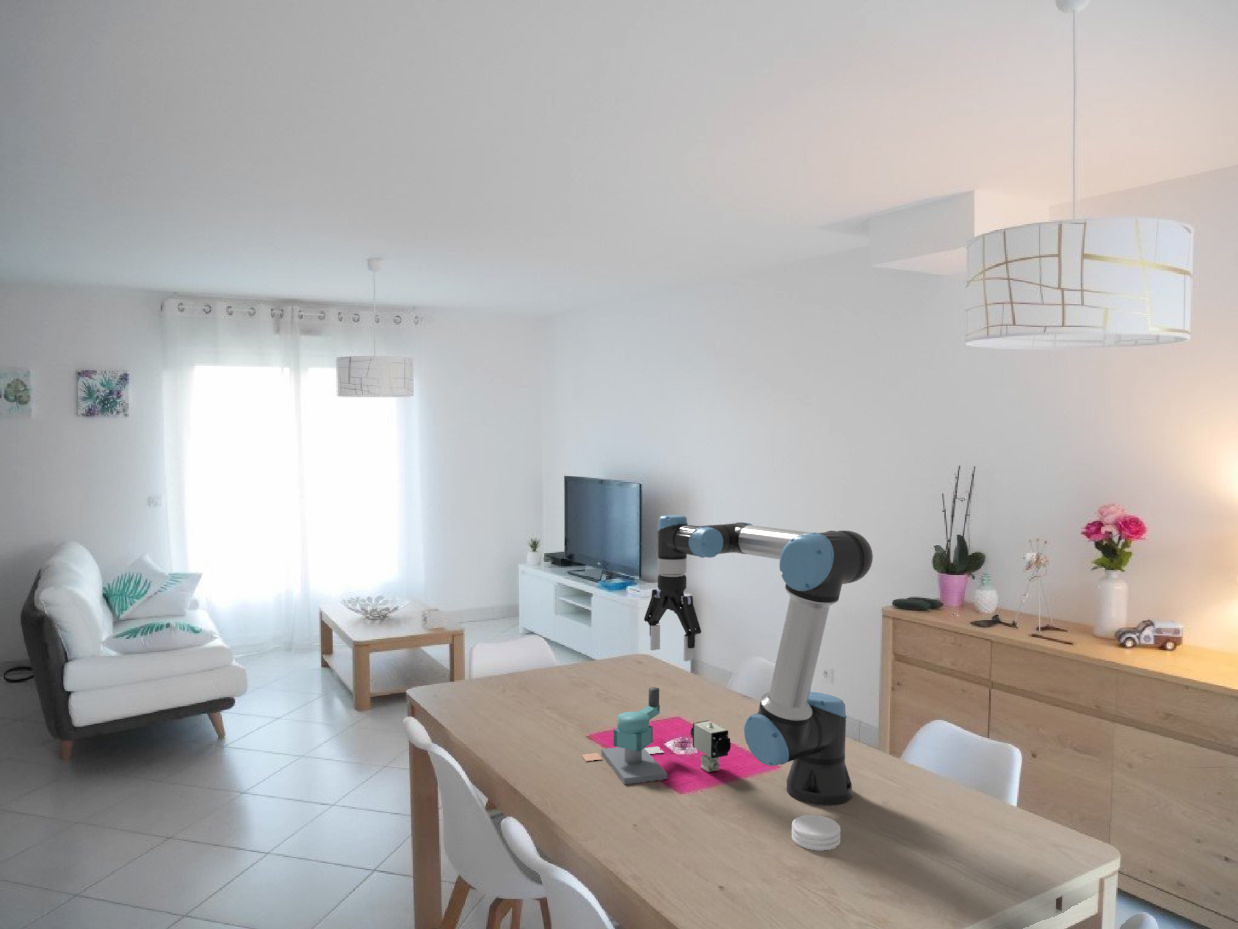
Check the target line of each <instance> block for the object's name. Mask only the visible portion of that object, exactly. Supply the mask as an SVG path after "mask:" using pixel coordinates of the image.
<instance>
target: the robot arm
mask: <svg viewBox="0 0 1238 929" xmlns="http://www.w3.org/2000/svg"><path fill="white" fill-rule="evenodd" d="M656 531H657V573H658V576H657V588H655V589H652V590H651V597H650V601H649V604H648V606H647V610H646V611H645V615H644V618H643V620H644V622H646V623H648V625H649V637H650V638H649V639H650V645H649V646H650V648H649V649H650V650H649V651H656V650H657V651H658V650H661V625H660V624H661V623H660V621H661V619H662V618H663V616H664V614H665V613H666V611H667V610H669V611H673V613H674V614H676V616H677V618H678V619H679V622H680V624H681V626H682V629H683V630H684V632H685V634H683V661H684V662H688V661H689V662H690V661H693V660H694V658H695V657H694V655H695V654H694V653H695V652H694V651H695V650H694V648H696V635H700V634H701V633H702V630H701V626H700V622H699V620H698V616H697V613H696V609H695V606H694V598H693V595H684V593H685V590H686V589H687V575H686V573H687V555H690V556H695V557H699V558H703V559H704V558H715V557H716V556H717V555H720V554H721V555H722V554H734V553H735V554H743V555H750V556H755V557H763V558H768V559H774V560H779V561H778V562H779V565H778V566H779V572H781V573H782V574H781V578H782V580H783V582H784V583H785V585H784V586H785V587H784V589H785V591H786V593H787V594H788V595H789V601H788V606H787V610H786V614H785V615H786V616H785V621H784V624H783V627H782V628H783V629H782V633H781V636H780V637H781V638H780V641H779V642H780V643H779V647H778V651H777V656H776V661H775V665H774V670H773V674H772V679H771V684H770V689H769V692H766V693H764V694H763V695H762V696H761V698H760V703H759V705H758V706H759V707H758V710H757V713H756V712H755V713H753V714H751V715H750V716H748V718H747V719H746V721H745V723H744V725H743V726H744V728H743V733H744V735H743V736H744V738H745V742H746V745H747V746H748V749H749V751H750V753H751V754H752V756H754V758H755V759H756V760H757V761H758V762H760V763H762V765H765V766H770V767H776V766H780V765H781V766H782V765H786V764H787V763H790V762H792V763H791V766H790V769H789V772H788V775H787V778H786V792H787V793H788V794H789V796H791V797H793V798H794V799H796V800H799V801H800V802H804V803H808V804H811V805H819V806H837V805H841V804H845V803H847V802H849V801H850V800H851V799H852V798H853V784H852V780H851V777H850V774H849V771H848V768H847V765H846V735H847V734H846V732H847V731H846V727H847V719H848V718H847V715H846V714H847V713H846V711H847V710H846V704H845V702H844V700H842V699H841V698H839V697H837V696H835V695H831V694H828V693H823V692H816V691H811V690H812V689H811V688H812V684H813V681H814V675H815V673H816V667H817V663H818V659H819V654H820V650H821V647H822V646H821V645H822V641H823V636H824V633H825V628H826V625H827V624H826V623H827V619H828V615H829V611H830V607H831V606H833V605H834V604H836V603H838V602H839V599H840V595H841V591H842V586H843V585H847V584H851V583H855V582H857V581H859V580H861V579H863V578H864V577H865V576H866V575H867V574H868V573H869V571H870V570H871V567H872V564H873V557H874V554H873V550H872V546H871V545H870V543H869V541H868V540H867V539H866V538H865V537H864V536H863V535H861V534H859V533H858V532H855V531H852V530H828V531H827V530H826V531H825V532H810V531H801V530H793V529H785V528H784V529H783V528H777V527H769V526H768V527H767V526H759V525H753V524H752V523H749V522H739V521H738V522H734V523H726V524H709V525H708V524H707V525H693V524H692V525H691V524H688V518H687V517H686V515H682V514H664V515H663V514H662V515H661V516H659V518H658V523H657V530H656Z"/></svg>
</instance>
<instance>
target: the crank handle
mask: <svg viewBox="0 0 1238 929" xmlns="http://www.w3.org/2000/svg"><path fill="white" fill-rule="evenodd" d="M660 713H661V706H660V688H659V687H649V688H648V705H646V706H645V707H643V708H642V709H640V710H639V711H626V712H624V711H623V712H621V713H620V714H618V715H617V728H615V729H613V747H614V748H617V747H620V748H625V749H630V750H635V751H641V750H642V749H644V748H648V746H650V745H651V744H652V743H653V741H654V738H653V737H654V736H653V734H654V729H653V728H654V727H653V726H651V725H650V720H652V719H653V718H654V717H655V718H656V716H658V715H659V714H660Z"/></svg>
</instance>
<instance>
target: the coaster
mask: <svg viewBox="0 0 1238 929" xmlns="http://www.w3.org/2000/svg"><path fill="white" fill-rule="evenodd" d="M841 831H842V829H841V826H840V824H839V823H838V822H837V821H835V820H834V819H832V818H829V817H827V816H824V815H819V814H804V815H800V816H797V817H795V818H794V819H793V820H792V823H791V839H792V841H793V842H794V843H795V845H798V846H799V847H801V848H803V849H806V850H809V849H810V850H809V851H814V850H815V852H826V850H828V851H832V850H836V848H838V847H839V846H840V845H841ZM837 846H838V847H837ZM831 849H832V850H831ZM824 850H825V851H824Z"/></svg>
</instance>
